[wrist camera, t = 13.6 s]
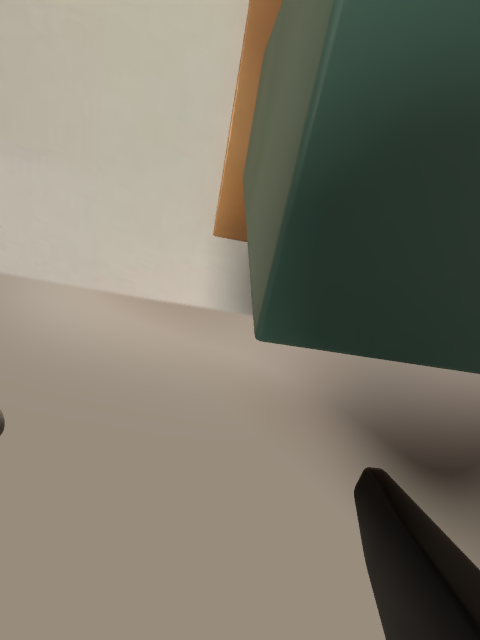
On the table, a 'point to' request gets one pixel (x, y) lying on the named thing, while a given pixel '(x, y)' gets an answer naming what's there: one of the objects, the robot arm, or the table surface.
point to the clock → (368, 181)
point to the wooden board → (243, 119)
